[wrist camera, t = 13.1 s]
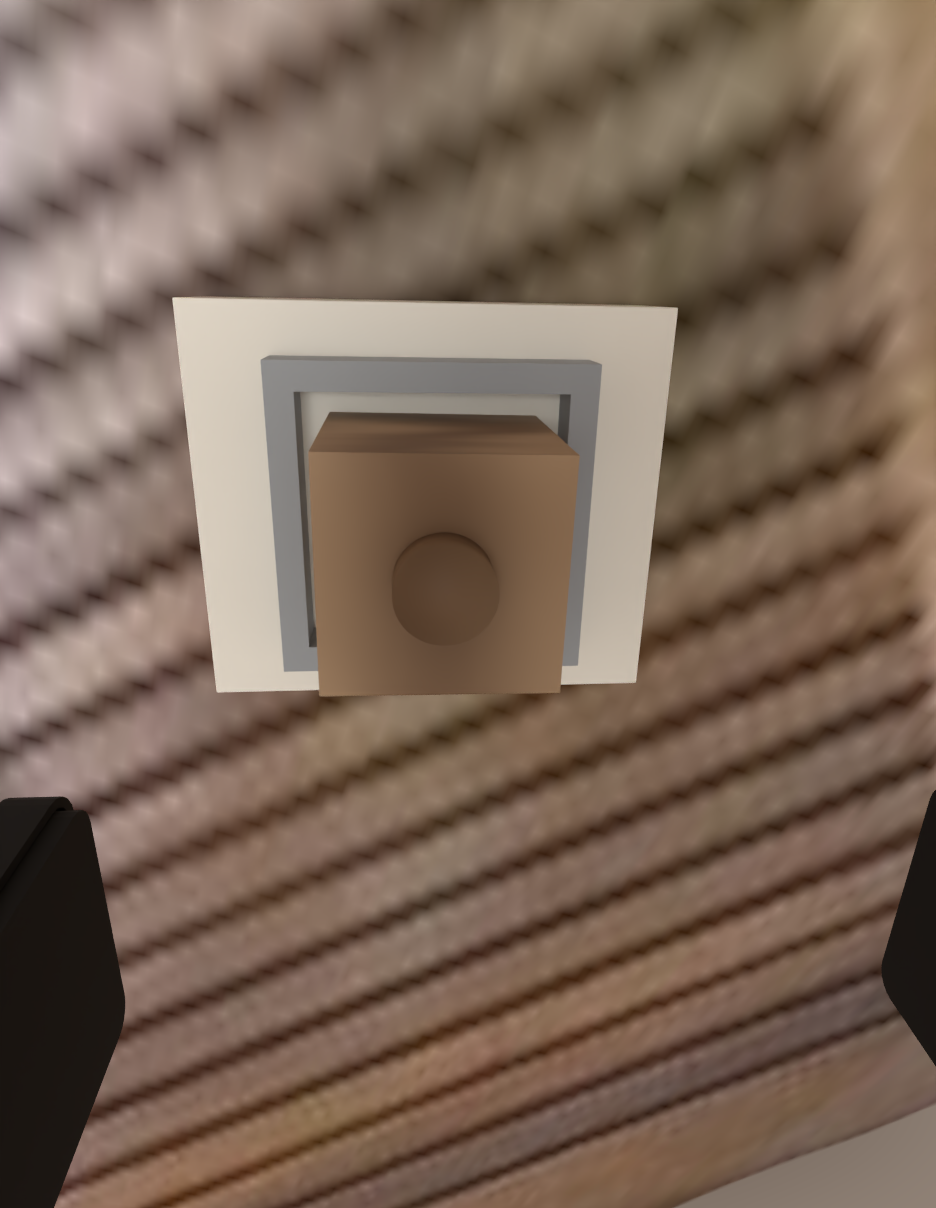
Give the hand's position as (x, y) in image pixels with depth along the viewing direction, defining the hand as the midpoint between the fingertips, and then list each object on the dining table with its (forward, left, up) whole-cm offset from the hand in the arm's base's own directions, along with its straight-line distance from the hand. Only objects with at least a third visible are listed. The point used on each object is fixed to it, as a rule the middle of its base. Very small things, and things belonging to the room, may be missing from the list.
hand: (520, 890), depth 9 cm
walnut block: (0, 0, -16) cm, 16 cm away
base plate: (0, 0, -20) cm, 20 cm away
